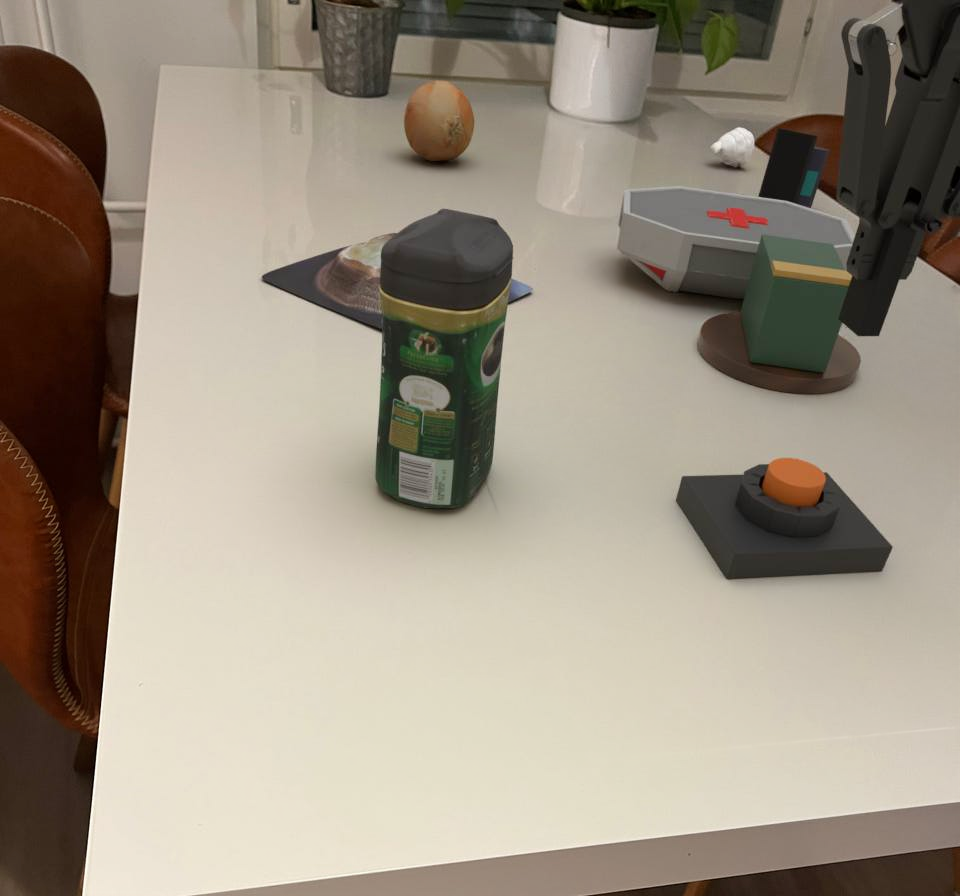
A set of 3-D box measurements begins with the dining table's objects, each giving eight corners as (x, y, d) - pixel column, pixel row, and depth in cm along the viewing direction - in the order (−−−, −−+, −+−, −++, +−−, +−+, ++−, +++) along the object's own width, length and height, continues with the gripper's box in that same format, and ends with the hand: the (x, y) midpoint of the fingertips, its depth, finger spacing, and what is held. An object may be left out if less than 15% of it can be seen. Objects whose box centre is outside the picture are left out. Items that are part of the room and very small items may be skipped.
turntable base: (811, 325, 105) (815, 312, 104) (885, 393, 93) (891, 378, 92) (674, 324, 101) (678, 310, 100) (734, 394, 90) (738, 379, 89)
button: (802, 477, 72) (810, 456, 71) (828, 507, 69) (836, 486, 68) (752, 479, 71) (759, 457, 70) (776, 509, 68) (783, 487, 67)
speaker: (789, 221, 132) (813, 136, 126) (752, 211, 135) (775, 127, 129) (816, 219, 137) (841, 136, 131) (781, 209, 140) (804, 128, 134)
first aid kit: (609, 297, 105) (843, 330, 104) (623, 225, 100) (867, 259, 100) (613, 244, 119) (819, 273, 118) (624, 178, 114) (840, 208, 113)
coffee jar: (406, 438, 78) (419, 191, 66) (501, 462, 76) (532, 214, 65) (357, 497, 71) (361, 232, 59) (461, 524, 69) (487, 258, 57)
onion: (430, 174, 134) (435, 92, 128) (388, 154, 140) (391, 74, 133) (485, 167, 139) (492, 88, 133) (442, 148, 145) (447, 71, 138)
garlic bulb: (699, 161, 153) (707, 123, 149) (730, 161, 155) (739, 123, 152) (718, 172, 149) (727, 133, 146) (750, 171, 151) (760, 132, 148)
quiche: (536, 292, 104) (541, 254, 102) (411, 345, 91) (413, 303, 89) (388, 238, 113) (389, 201, 110) (255, 279, 100) (253, 239, 97)
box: (738, 313, 101) (762, 227, 95) (808, 323, 101) (836, 237, 95) (749, 362, 92) (775, 270, 86) (826, 373, 91) (857, 281, 86)
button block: (817, 496, 77) (834, 451, 75) (882, 572, 70) (902, 525, 67) (675, 500, 75) (687, 454, 72) (726, 580, 67) (741, 531, 65)
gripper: (943, -144, 44) (792, 353, 59) (1183, -118, 47) (979, 351, 62) (861, -153, 50) (742, 304, 65) (1080, -130, 52) (916, 304, 68)
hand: (858, 327), depth 64 cm, fingers closed
